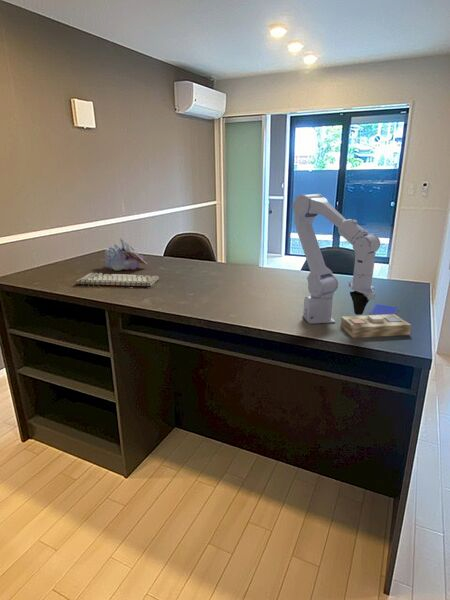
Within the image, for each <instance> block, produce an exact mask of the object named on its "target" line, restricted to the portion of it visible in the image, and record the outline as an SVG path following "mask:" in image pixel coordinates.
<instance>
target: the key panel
mask: <svg viewBox="0 0 450 600" xmlns="http://www.w3.org/2000/svg"><path fill="white" fill-rule="evenodd" d="M368 315H369V314H368ZM368 315H367V314H366V315H349V316H348V315H346V316H341V318H340V328H342V330H344V331H345V332H346V333H347V334H348V335H349V336H350V337H352V338H353V339H357V338H358V339H359V338H374V337H375V338H376V337H378V338H379V337H394V336H396V337H398V336H410V335H411V333H410V332H411V327H412V324H411V323H409V322H407V321H406V320H404V319H402V318H401V317H400V316H398V315H397V314H396V315H395V314H385V315H379V316H380V317H382V318H383V319H384V318H389V317H395V318H397V319H398V320H400V321H401V322H388V321H387V320H385V319H384V320H383V323H371V322H370V321H368V320H367V319H368ZM350 319H361V320H363V321H364V322H365V323H366V324H354V323H352V322H351V321H350Z"/></svg>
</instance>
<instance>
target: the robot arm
mask: <svg viewBox="0 0 450 600" xmlns="http://www.w3.org/2000/svg"><path fill="white" fill-rule="evenodd" d="M291 205H292V206H291V207H292V211H293V214H294V225H295V229H296V233H297V235H298V238H299V242H300V245H301V248H302V251H303V254H304V256H305V259H306V262H307V265H308V268H309V274H308V275H307V277H306V279H307V284H308V285H307V290H308V293H309V295H306V296H305V297H304V300H303V310H302V311H303V312H302V313H303V314H302V317H303V319H305V321H307V323H308V324H311V325H312V324H327V323H328V324H329V323H330V324H331V323H333V324H334V323H336V320H334V318H333V317H332V311H333V310H332V309H333V301H334V295H335V292H336V291H337V290H338V287H339V281H338V279H337V278H336V276H335V275H334V273H333V271H332V270H331V268H329V267H327V266H326V263H325V260H324V256H323V254H322V251H321V249H320V244H319V241H318V238H317V236H316V233H315V230H314V227H313V222H314V221H315V219H316V218H317V217H318V216H319V215H321V216H323V218H325V219H327V220H328V221H329V222H330V223H332V224H333V225H334V226H336V227H337V230H338V234H339V236H342V238H343V239H345V240H346V241H347V242H348V243H349V244H350V245H352V250H353V252H354V268H353V275H352V280H348V288H350V289H351V290H353V291H350V292H349V294H350V297H351V300H352V301H351V302H352V305H353V311H354V312H353V313H354V314H355V316H363V313H364V311H365V308H366V306H367V305H368V303H369V302H370V301H371V300H374V301H375V300H376V293H375V291H374V290H375V286H373V285H372V284H373V277H374V276H373V275H374V268H375V260H376V259H375V258H376V252H377V251H378V250H379V249H380V248H381V247H380V246H381V240H380V238H379V237H378V236H377V234H375V233H369V231H368V229H364V228H363V227H362V226H361V225H359V224H358V221H357V220H356V219H353V218H348V219H346V218H345V216H344V215H342V214H341V213H340V212H339V211H338V210H337V209H336V208H335V207H333V205H331V204H330V202H329V200H328V199H327V198H326V197H324V196H323V195H322V194H321V193H314V194H299V195H297V196H296V197H295V199H294V201H293V203H292V204H291Z"/></svg>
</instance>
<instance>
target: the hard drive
mask: <svg viewBox="0 0 450 600" xmlns="http://www.w3.org/2000/svg"><path fill="white" fill-rule="evenodd" d="M398 311H399V307H396V306H391V305H383V304H375V305H374V307H373V308H372V309H371V310H370V311H369V312H370V313H369V314H368V315H385V314H395V315H397V314H398Z"/></svg>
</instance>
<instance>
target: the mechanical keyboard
mask: <svg viewBox="0 0 450 600" xmlns="http://www.w3.org/2000/svg"><path fill="white" fill-rule="evenodd" d="M159 278H160V277H159V276H158V275H152V276H151V275H145V276H144V275H143V274H142V275H141V274H138V275H137V274H124V273H123V274H121V273H117V274H116V273H112V274H110V273H104V274H103V272H99V273H98V272H90V273H87V275H85V276H82V277H81V278H78V279H77V280H75V283H74V284H75V285H74V287H75V288H86V289H87V288H89V289H90V288H92V289H106V288H107V289H122V288H121V287H133V288H132V289H145V288H147V287H151V286H152V285H153V284H154V283H156V281H157V280H160V279H159ZM157 282H158V281H157ZM156 284H157V283H156ZM147 289H148V288H147Z"/></svg>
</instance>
